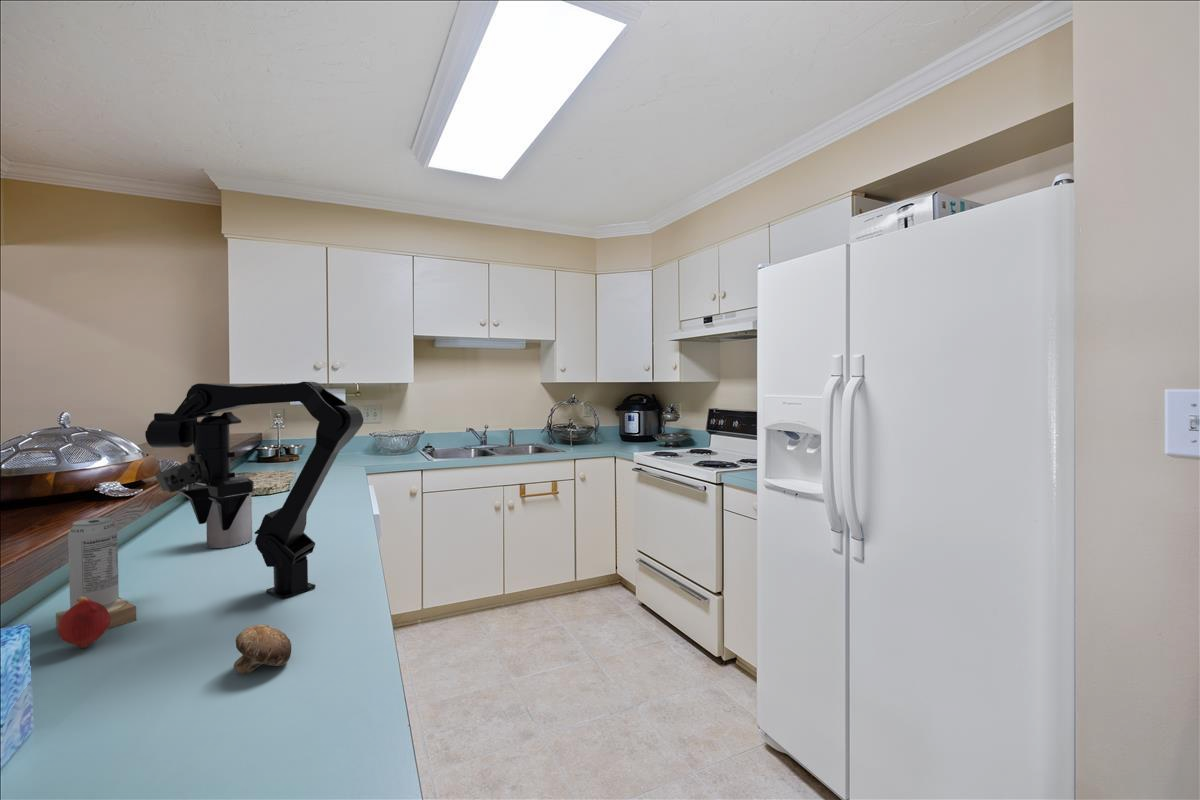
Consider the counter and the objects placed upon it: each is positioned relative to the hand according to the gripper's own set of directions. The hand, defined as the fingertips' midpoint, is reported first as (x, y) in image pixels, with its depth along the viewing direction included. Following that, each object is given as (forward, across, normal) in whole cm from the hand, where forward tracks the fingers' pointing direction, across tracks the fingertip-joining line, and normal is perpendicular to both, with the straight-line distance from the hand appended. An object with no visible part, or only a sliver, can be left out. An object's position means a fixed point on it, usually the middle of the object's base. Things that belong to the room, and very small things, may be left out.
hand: (213, 526), depth 104 cm
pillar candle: (+13, -33, +18) cm, 40 cm away
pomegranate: (+13, +7, -21) cm, 26 cm away
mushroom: (+13, +37, -10) cm, 41 cm away
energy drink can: (+10, -2, -17) cm, 20 cm away
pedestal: (+13, -2, -17) cm, 21 cm away
